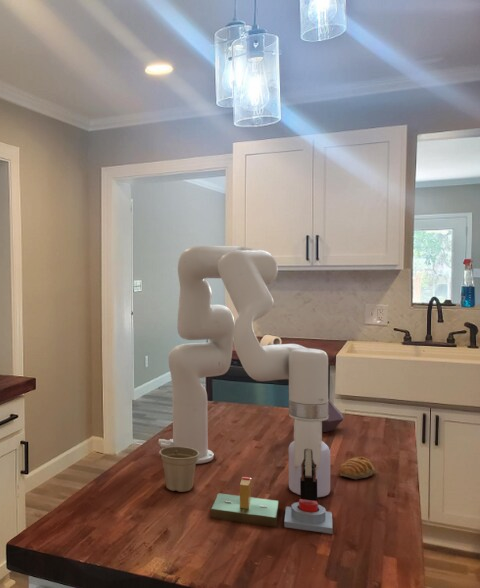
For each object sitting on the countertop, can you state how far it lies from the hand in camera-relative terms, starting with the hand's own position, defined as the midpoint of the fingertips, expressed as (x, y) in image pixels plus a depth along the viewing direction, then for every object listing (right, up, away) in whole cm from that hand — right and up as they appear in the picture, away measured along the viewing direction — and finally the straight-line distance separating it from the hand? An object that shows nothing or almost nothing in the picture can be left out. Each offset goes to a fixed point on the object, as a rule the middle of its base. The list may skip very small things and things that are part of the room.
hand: (308, 498), depth 118 cm
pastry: (+22, -4, +27) cm, 35 cm away
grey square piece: (0, -5, 0) cm, 5 cm away
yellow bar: (-12, -3, +5) cm, 13 cm away
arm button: (0, -3, 0) cm, 3 cm away
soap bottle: (+7, -4, +17) cm, 19 cm away
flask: (+29, -2, +69) cm, 75 cm away
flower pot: (-23, -5, +20) cm, 31 cm away
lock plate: (-12, -5, +5) cm, 14 cm away
